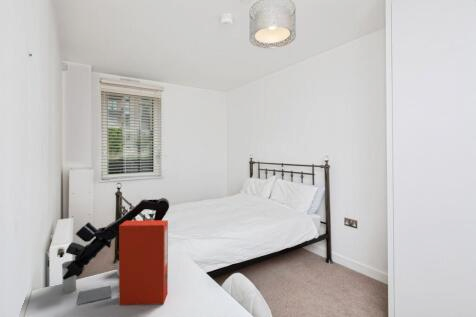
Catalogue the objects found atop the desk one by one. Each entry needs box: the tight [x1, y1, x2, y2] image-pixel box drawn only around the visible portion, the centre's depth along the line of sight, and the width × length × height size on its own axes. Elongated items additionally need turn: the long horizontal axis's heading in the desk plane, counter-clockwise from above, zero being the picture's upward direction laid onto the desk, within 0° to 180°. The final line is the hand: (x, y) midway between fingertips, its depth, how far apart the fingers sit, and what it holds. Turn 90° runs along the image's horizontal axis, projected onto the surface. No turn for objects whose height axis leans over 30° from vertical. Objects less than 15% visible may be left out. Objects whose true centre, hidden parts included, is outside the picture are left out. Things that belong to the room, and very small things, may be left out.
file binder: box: [118, 219, 169, 306], centre depth 106 cm, size 8×17×32 cm, turn 94°
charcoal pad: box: [77, 284, 112, 306], centre depth 109 cm, size 12×10×1 cm
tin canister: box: [61, 260, 77, 294], centre depth 112 cm, size 5×5×12 cm
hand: (65, 275), depth 112 cm, fingers closed on tin canister, 5 cm apart
